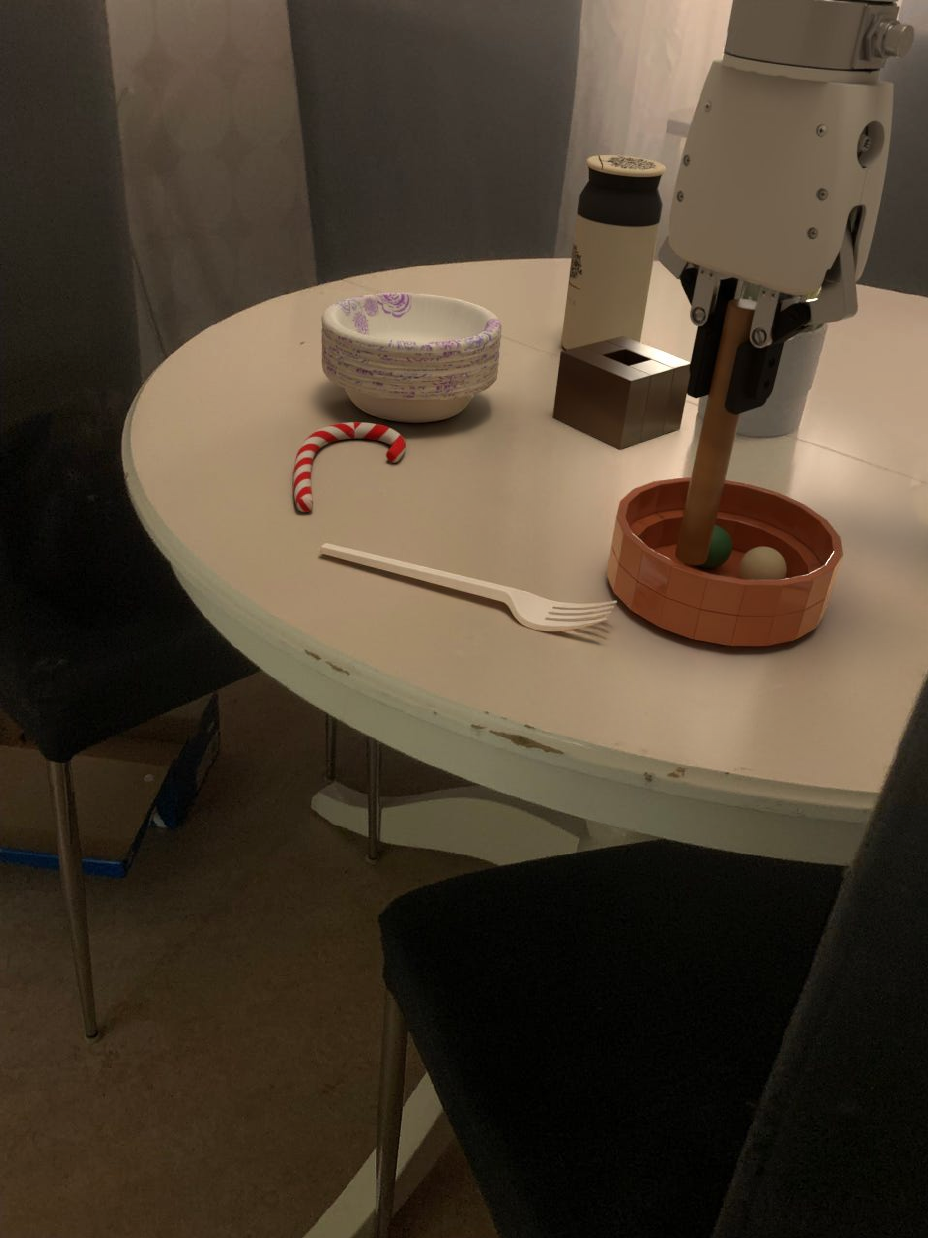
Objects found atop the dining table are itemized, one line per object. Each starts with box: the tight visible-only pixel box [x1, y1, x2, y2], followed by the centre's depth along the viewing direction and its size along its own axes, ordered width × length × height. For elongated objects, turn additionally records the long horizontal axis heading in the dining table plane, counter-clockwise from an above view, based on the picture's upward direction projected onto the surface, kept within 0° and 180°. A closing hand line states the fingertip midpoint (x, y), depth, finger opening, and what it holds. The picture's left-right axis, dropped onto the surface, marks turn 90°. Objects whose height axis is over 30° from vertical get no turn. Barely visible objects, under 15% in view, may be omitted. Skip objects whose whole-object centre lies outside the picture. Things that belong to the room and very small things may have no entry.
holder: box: [552, 336, 691, 450], centre depth 93 cm, size 8×8×6 cm
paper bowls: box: [320, 292, 502, 424], centre depth 93 cm, size 15×15×8 cm
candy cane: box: [292, 421, 407, 513], centre depth 82 cm, size 8×1×15 cm
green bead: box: [697, 525, 732, 569], centre depth 73 cm, size 3×3×3 cm
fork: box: [318, 542, 618, 632], centre depth 69 cm, size 3×20×2 cm, turn 68°
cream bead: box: [739, 547, 787, 580], centre depth 70 cm, size 3×3×3 cm
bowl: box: [606, 476, 844, 647], centre depth 70 cm, size 14×14×5 cm
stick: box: [675, 298, 757, 565], centre depth 63 cm, size 2×2×16 cm
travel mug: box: [560, 154, 667, 350], centre depth 106 cm, size 8×8×18 cm
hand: (726, 398), depth 62 cm, fingers closed on stick, 2 cm apart
